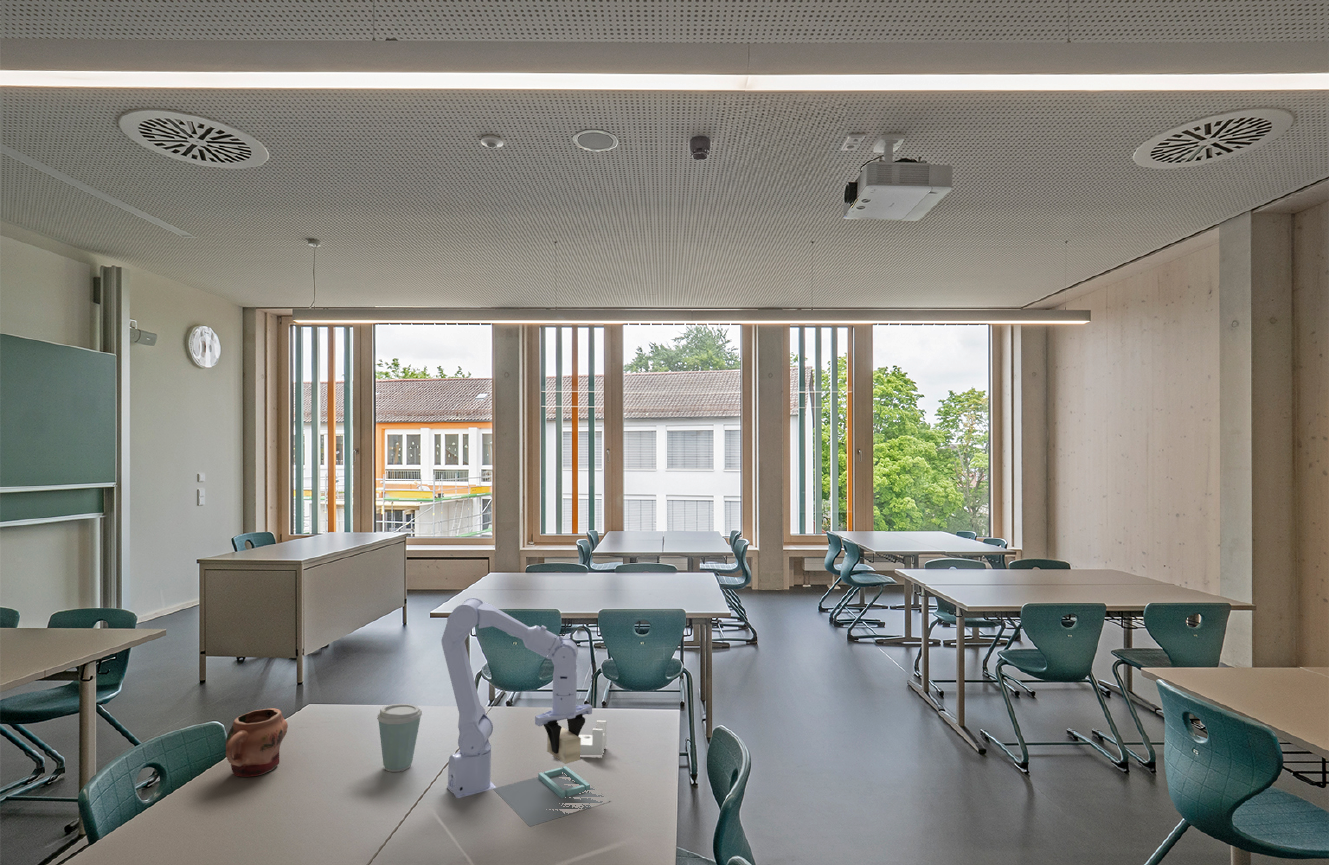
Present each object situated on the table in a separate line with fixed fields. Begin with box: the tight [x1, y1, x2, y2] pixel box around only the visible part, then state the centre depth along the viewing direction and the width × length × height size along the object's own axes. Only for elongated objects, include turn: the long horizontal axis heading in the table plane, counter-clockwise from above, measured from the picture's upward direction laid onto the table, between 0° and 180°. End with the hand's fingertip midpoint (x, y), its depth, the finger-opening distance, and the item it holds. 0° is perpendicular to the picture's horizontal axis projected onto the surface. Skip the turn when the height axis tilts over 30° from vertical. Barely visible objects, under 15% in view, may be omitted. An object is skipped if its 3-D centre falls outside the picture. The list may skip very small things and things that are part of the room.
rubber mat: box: [493, 773, 605, 828], centre depth 161 cm, size 20×21×1 cm
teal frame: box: [537, 765, 591, 798], centre depth 167 cm, size 8×12×1 cm, turn 35°
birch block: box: [546, 726, 581, 765], centre depth 167 cm, size 9×4×5 cm, turn 37°
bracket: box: [578, 719, 608, 755], centre depth 188 cm, size 13×7×8 cm, turn 85°
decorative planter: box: [225, 707, 289, 778], centre depth 173 cm, size 20×12×14 cm, turn 2°
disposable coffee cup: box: [377, 703, 423, 773], centre depth 177 cm, size 11×11×15 cm
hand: (563, 749), depth 167 cm, fingers closed on birch block, 4 cm apart
